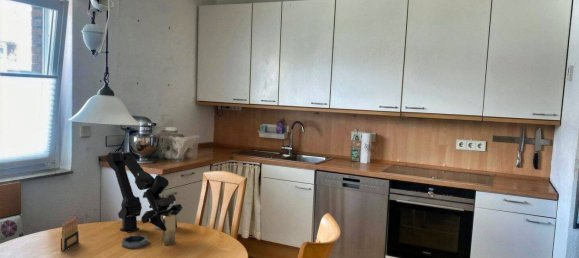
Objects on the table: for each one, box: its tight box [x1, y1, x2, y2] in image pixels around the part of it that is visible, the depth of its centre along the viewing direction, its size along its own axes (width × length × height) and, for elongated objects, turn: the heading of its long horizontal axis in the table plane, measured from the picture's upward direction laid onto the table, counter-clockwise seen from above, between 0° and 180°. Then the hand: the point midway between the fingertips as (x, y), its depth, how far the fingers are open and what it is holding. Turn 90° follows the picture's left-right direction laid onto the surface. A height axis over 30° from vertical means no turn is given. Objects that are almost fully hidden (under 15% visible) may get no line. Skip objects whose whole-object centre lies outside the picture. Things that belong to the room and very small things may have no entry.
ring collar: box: [121, 234, 149, 250], centre depth 186 cm, size 11×11×2 cm
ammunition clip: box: [60, 215, 80, 251], centre depth 181 cm, size 11×2×12 cm, turn 178°
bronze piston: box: [161, 214, 177, 246], centre depth 188 cm, size 6×6×12 cm
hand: (171, 229), depth 187 cm, fingers closed on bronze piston, 5 cm apart
